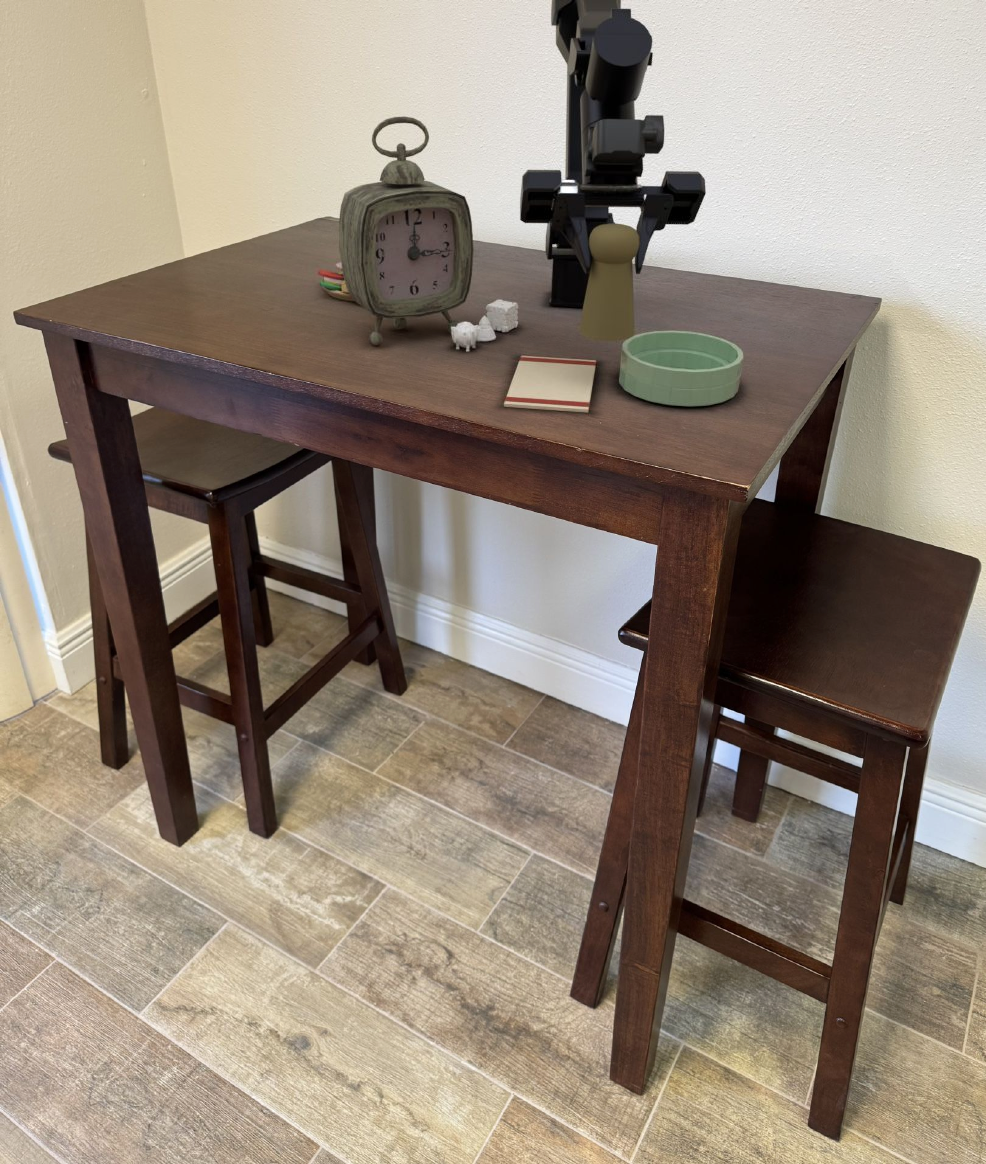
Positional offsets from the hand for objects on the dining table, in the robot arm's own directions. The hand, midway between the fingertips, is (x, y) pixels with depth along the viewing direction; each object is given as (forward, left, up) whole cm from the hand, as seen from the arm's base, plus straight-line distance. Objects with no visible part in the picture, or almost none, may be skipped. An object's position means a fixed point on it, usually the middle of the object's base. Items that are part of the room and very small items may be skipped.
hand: (613, 271), depth 96 cm
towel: (-6, +2, -13) cm, 15 cm away
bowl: (+8, +4, -13) cm, 16 cm away
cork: (0, +1, -7) cm, 7 cm away
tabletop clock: (-26, +16, -13) cm, 33 cm away
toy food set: (-36, +33, -13) cm, 50 cm away
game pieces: (-16, +16, -13) cm, 26 cm away
